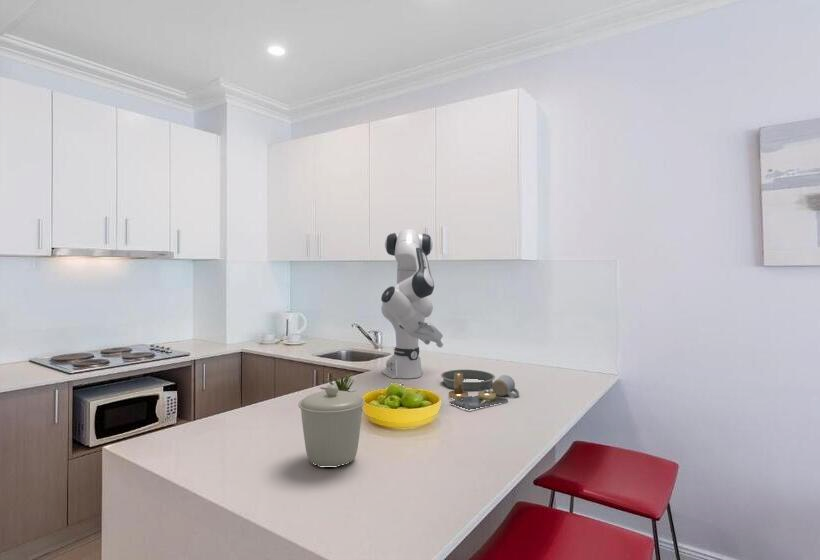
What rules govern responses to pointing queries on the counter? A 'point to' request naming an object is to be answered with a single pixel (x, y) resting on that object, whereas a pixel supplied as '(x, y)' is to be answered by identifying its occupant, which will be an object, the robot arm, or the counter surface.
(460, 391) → the brass joystick knob
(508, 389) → the ceramic mug
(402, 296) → the robot arm
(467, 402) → the carrier plate
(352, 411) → the canister
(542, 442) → the counter surface
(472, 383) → the cake pan
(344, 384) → the house plant
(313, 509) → the counter surface
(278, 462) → the counter surface
